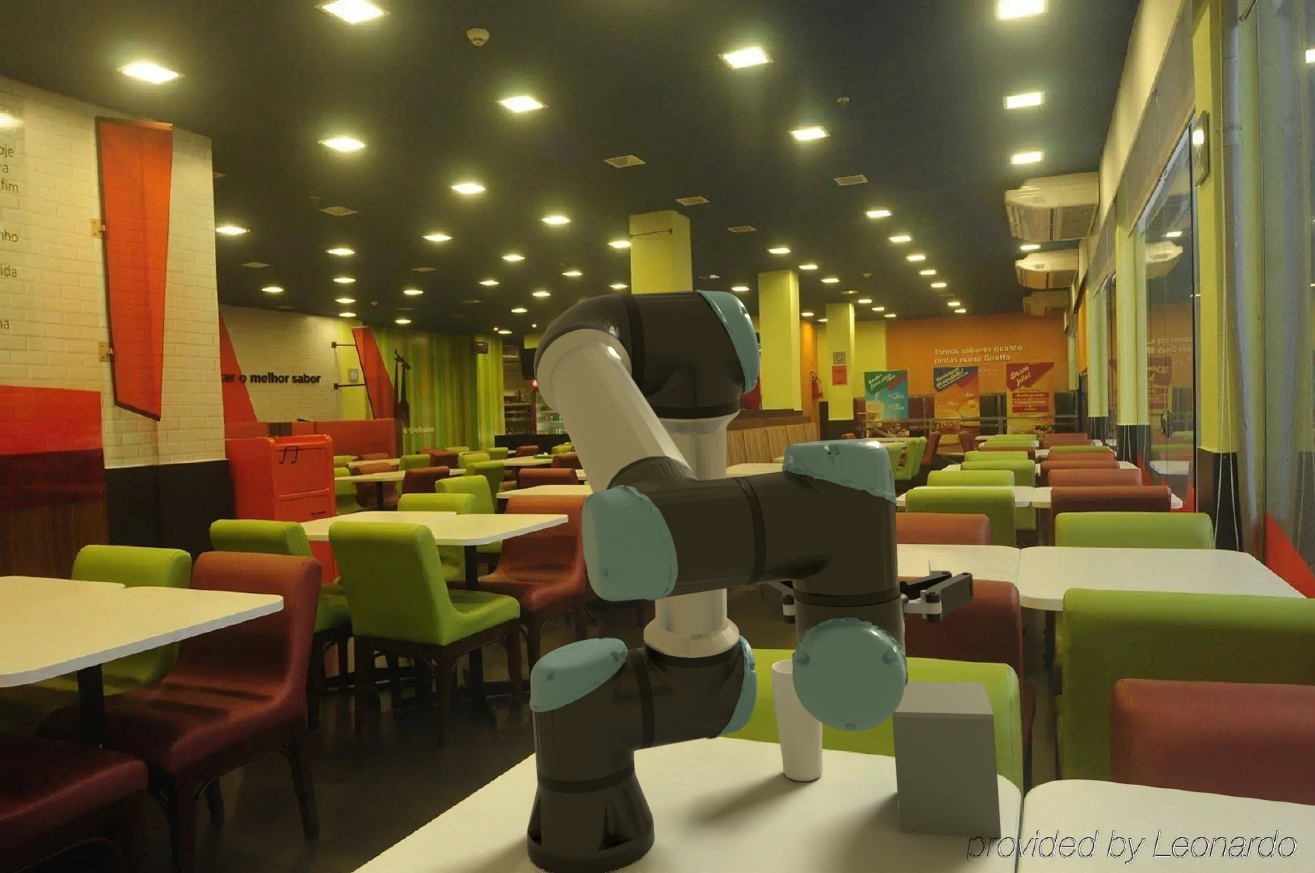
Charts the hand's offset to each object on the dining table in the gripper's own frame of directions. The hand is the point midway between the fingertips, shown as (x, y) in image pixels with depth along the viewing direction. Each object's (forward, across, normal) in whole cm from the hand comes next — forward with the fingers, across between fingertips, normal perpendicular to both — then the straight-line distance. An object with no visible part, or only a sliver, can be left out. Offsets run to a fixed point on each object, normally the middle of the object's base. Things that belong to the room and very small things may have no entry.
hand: (866, 572), depth 91 cm
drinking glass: (+22, -11, -32) cm, 41 cm away
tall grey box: (+14, +7, -32) cm, 35 cm away
